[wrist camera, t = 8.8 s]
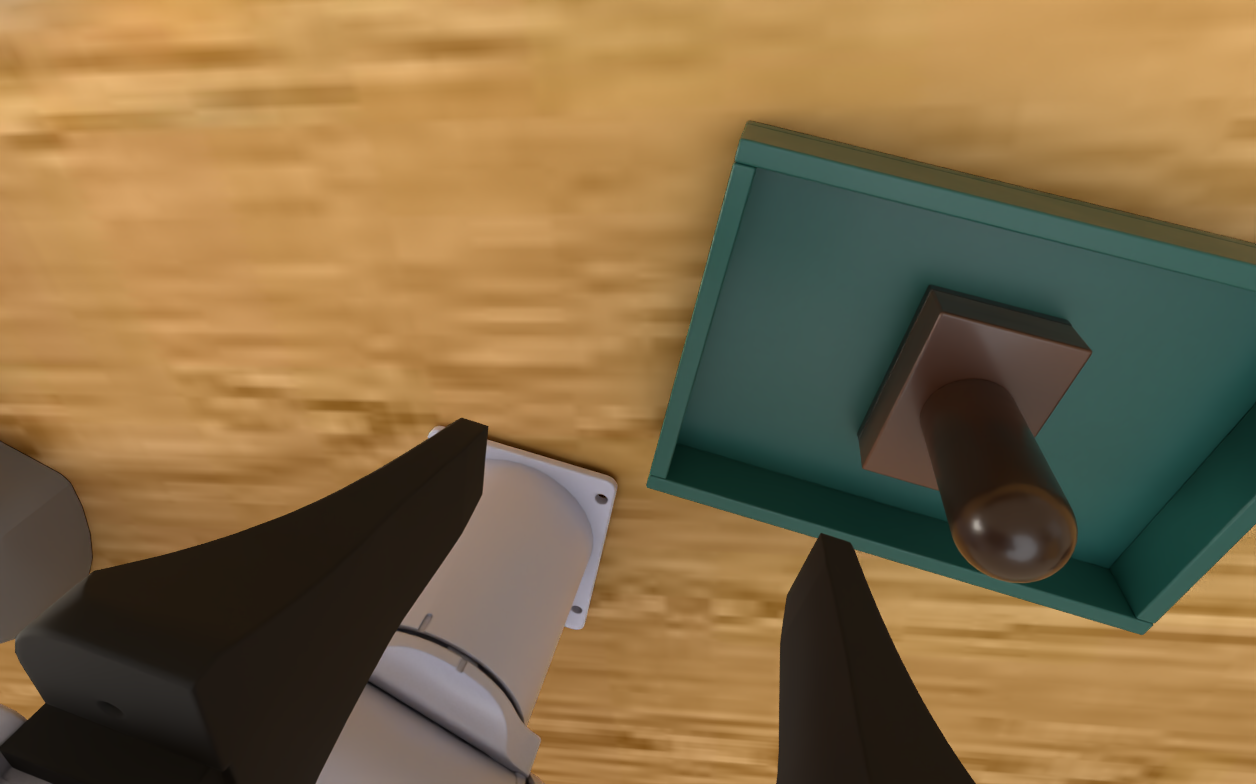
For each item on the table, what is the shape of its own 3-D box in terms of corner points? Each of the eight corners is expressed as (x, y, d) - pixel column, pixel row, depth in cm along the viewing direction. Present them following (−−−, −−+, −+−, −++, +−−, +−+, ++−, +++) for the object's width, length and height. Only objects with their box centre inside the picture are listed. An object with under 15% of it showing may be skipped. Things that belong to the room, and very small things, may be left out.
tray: (1108, 572, 23) (1143, 636, 21) (660, 441, 25) (645, 487, 22) (1375, 272, 17) (1467, 317, 14) (747, 119, 18) (740, 137, 16)
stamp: (975, 467, 22) (1051, 672, 15) (856, 434, 22) (880, 619, 15) (1068, 319, 19) (1214, 496, 12) (929, 283, 19) (997, 436, 12)
